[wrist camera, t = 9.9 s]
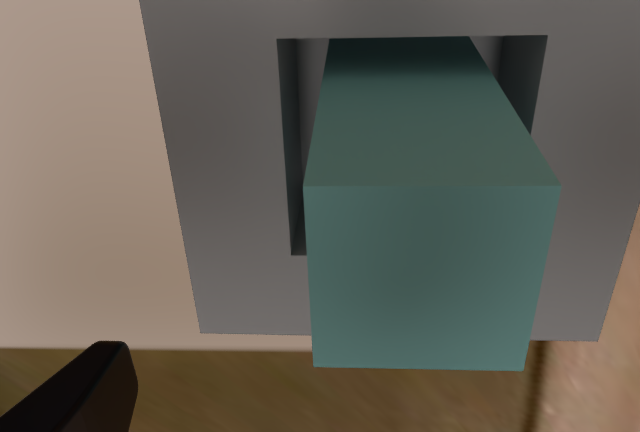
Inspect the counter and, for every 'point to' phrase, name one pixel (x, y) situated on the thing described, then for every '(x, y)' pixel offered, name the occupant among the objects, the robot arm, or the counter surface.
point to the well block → (299, 116)
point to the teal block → (422, 210)
